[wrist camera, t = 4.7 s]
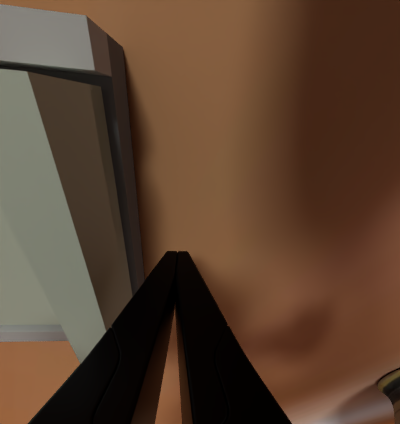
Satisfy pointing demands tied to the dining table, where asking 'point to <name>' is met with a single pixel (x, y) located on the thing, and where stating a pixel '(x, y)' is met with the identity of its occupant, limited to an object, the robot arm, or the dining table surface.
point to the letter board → (113, 106)
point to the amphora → (392, 391)
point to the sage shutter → (59, 210)
